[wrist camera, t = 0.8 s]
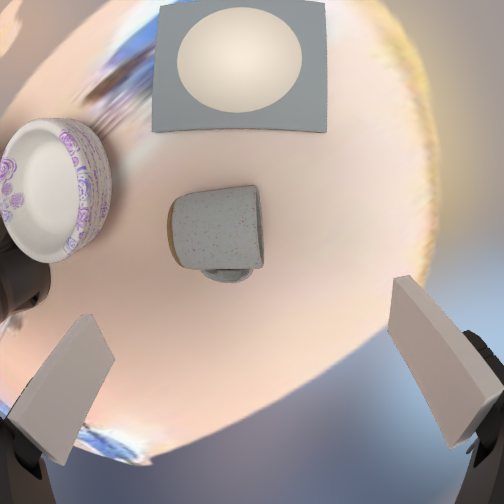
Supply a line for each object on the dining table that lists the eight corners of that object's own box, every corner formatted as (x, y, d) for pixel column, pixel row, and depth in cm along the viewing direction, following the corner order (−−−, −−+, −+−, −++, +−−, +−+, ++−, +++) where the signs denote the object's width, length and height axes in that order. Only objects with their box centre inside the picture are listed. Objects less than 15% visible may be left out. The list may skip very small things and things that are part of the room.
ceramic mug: (180, 189, 28) (155, 207, 21) (257, 179, 28) (257, 193, 21) (198, 279, 32) (183, 317, 25) (268, 272, 32) (270, 312, 25)
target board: (157, 132, 26) (151, 132, 24) (164, 11, 20) (159, 5, 19) (323, 132, 26) (326, 132, 24) (321, 8, 20) (324, 2, 19)
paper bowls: (26, 147, 26) (-15, 155, 19) (110, 98, 24) (69, 91, 17) (54, 250, 32) (19, 274, 24) (142, 224, 30) (109, 250, 23)
